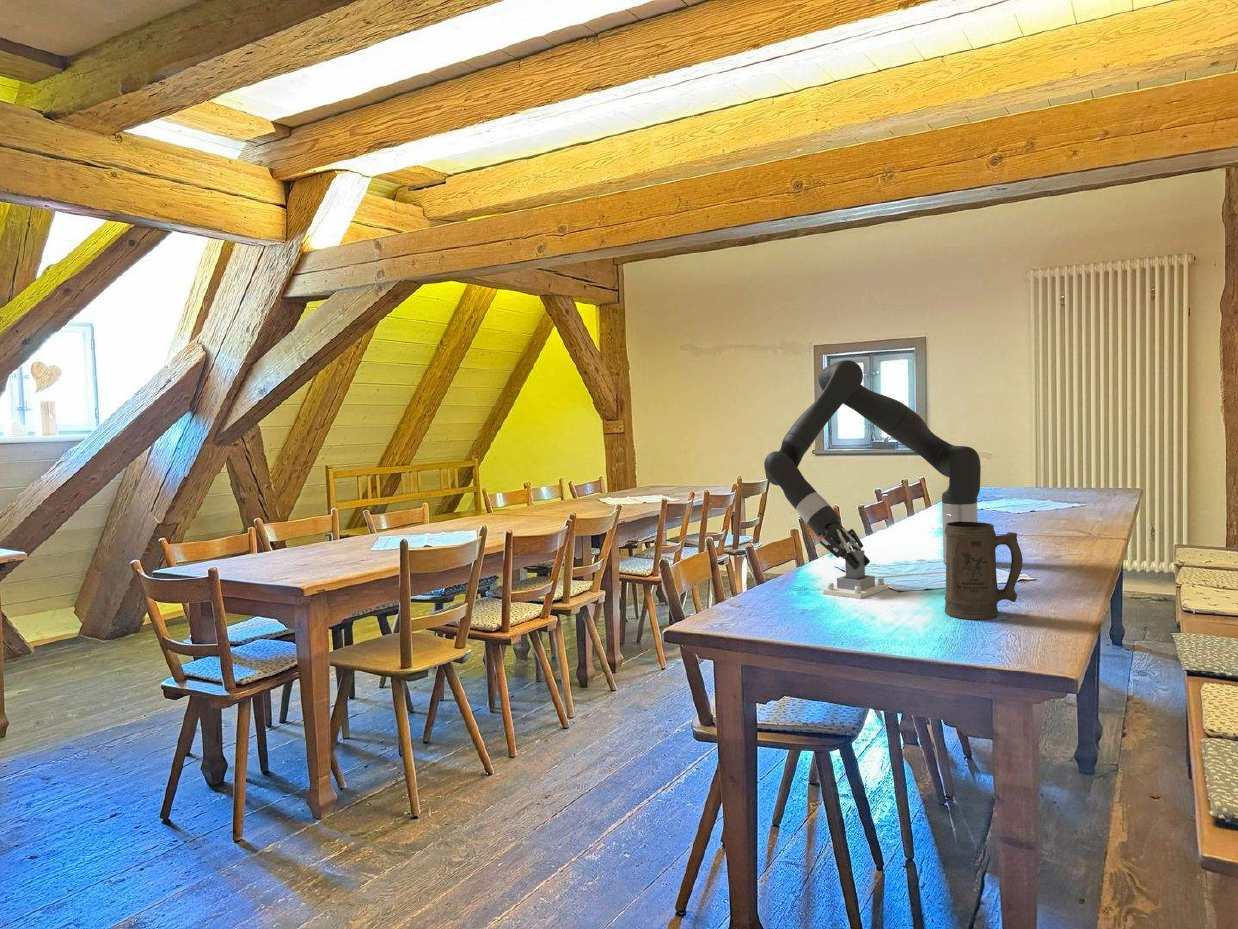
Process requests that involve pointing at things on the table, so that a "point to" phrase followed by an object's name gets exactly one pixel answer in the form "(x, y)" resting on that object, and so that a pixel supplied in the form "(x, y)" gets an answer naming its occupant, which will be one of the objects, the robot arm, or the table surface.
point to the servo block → (858, 572)
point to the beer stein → (977, 570)
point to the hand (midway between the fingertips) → (862, 565)
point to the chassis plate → (856, 587)
